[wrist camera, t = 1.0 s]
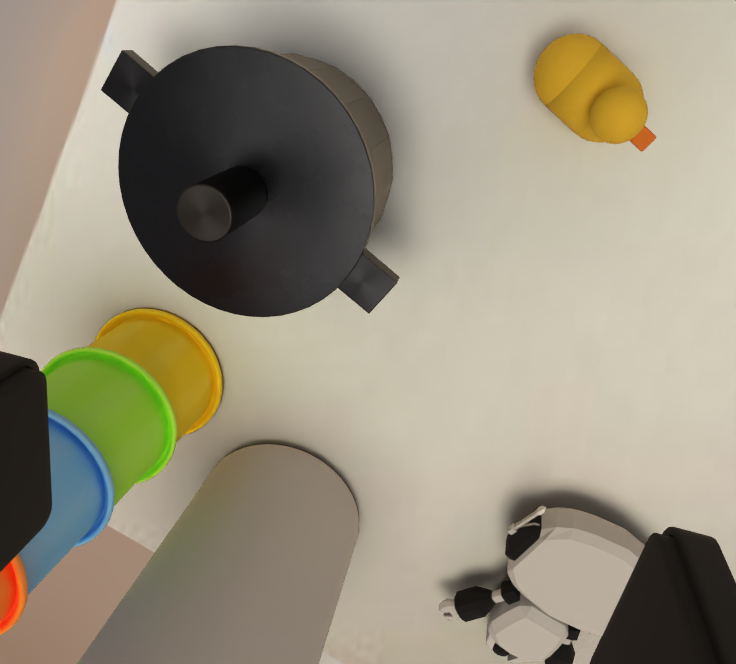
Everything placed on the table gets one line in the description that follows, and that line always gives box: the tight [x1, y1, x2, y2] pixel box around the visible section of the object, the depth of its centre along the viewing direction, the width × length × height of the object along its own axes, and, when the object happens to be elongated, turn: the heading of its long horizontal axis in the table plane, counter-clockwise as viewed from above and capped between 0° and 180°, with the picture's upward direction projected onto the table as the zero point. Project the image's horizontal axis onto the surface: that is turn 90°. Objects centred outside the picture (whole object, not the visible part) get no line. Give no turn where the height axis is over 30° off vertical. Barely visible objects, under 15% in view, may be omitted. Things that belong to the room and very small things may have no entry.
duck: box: [534, 34, 656, 151], centre depth 32 cm, size 7×4×6 cm, turn 52°
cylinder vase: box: [77, 444, 359, 664], centre depth 40 cm, size 12×12×25 cm
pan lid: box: [118, 45, 376, 317], centre depth 30 cm, size 13×13×6 cm
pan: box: [101, 50, 399, 313], centre depth 36 cm, size 12×18×8 cm
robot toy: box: [439, 506, 645, 664], centre depth 46 cm, size 12×4×15 cm
